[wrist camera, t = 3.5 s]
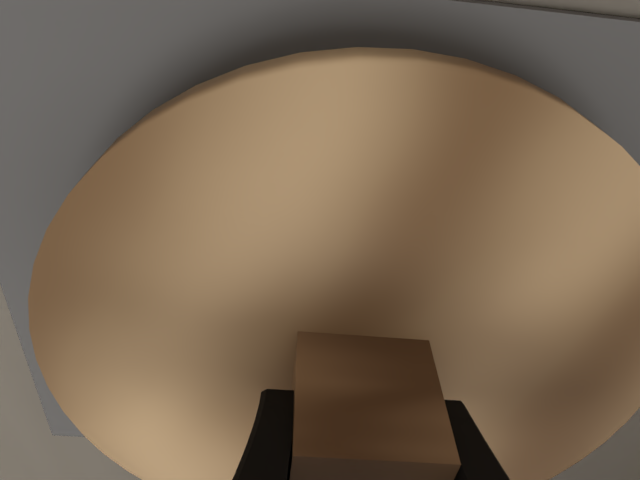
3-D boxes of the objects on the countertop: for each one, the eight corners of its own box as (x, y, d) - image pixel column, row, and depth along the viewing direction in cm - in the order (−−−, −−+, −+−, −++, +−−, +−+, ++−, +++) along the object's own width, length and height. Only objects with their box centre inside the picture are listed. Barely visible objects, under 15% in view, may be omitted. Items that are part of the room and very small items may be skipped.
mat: (829, 40, 11) (850, 46, 11) (560, 449, 20) (565, 461, 20) (-102, -67, 10) (-120, -66, 9) (57, 423, 19) (52, 435, 18)
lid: (813, 92, 9) (1101, 203, 6) (530, 508, 18) (580, 649, 14) (-38, 0, 8) (-282, 70, 5) (99, 488, 17) (45, 634, 13)
